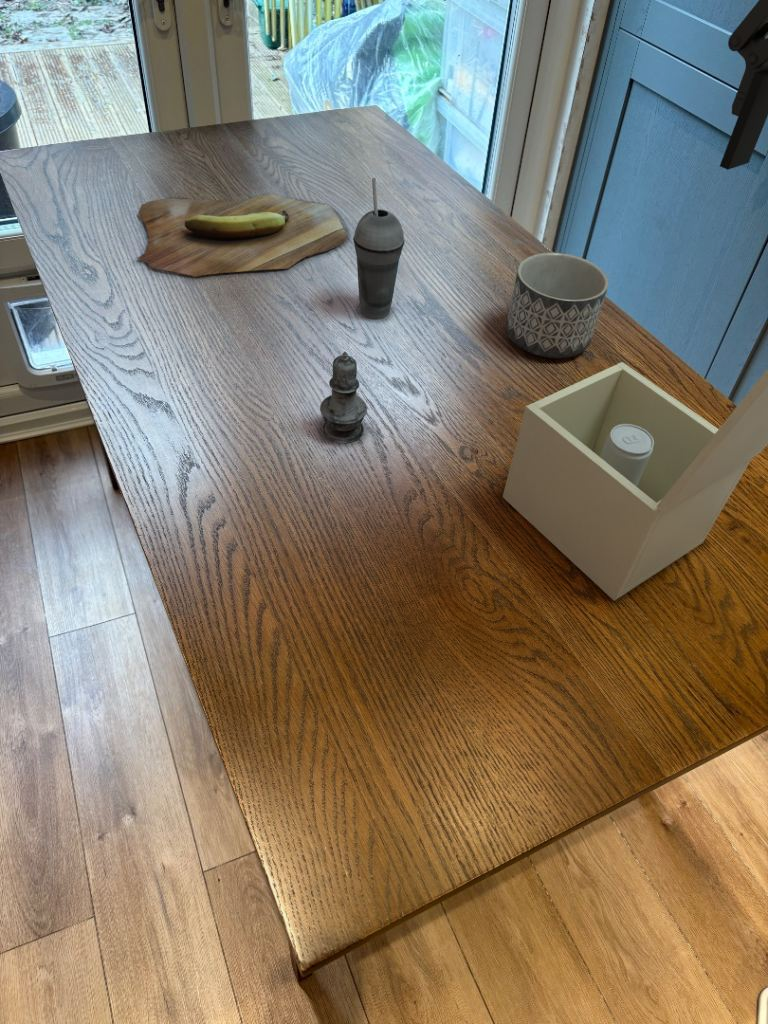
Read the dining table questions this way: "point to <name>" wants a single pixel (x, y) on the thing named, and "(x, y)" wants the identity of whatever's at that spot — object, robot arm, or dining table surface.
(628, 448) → the beverage can
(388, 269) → the beverage cup
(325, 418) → the chess piece
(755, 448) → the box lid
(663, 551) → the cream box
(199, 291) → the dining table surface
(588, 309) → the planter
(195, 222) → the cutting board
